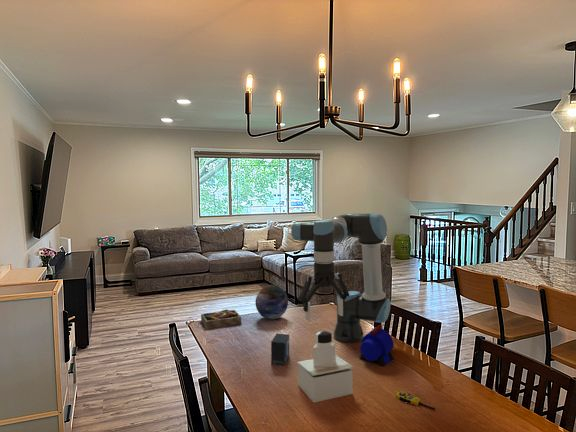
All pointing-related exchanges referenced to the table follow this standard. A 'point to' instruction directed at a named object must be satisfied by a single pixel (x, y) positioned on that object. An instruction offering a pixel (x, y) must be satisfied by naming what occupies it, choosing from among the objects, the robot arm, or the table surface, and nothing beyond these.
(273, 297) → the decorative sphere
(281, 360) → the small box
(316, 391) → the carton
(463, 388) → the table surface
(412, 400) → the yellow black screwdriver
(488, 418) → the table surface
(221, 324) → the filled wooden tray
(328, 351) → the medicine bottle
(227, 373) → the table surface
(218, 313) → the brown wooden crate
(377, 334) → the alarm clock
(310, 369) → the lid
